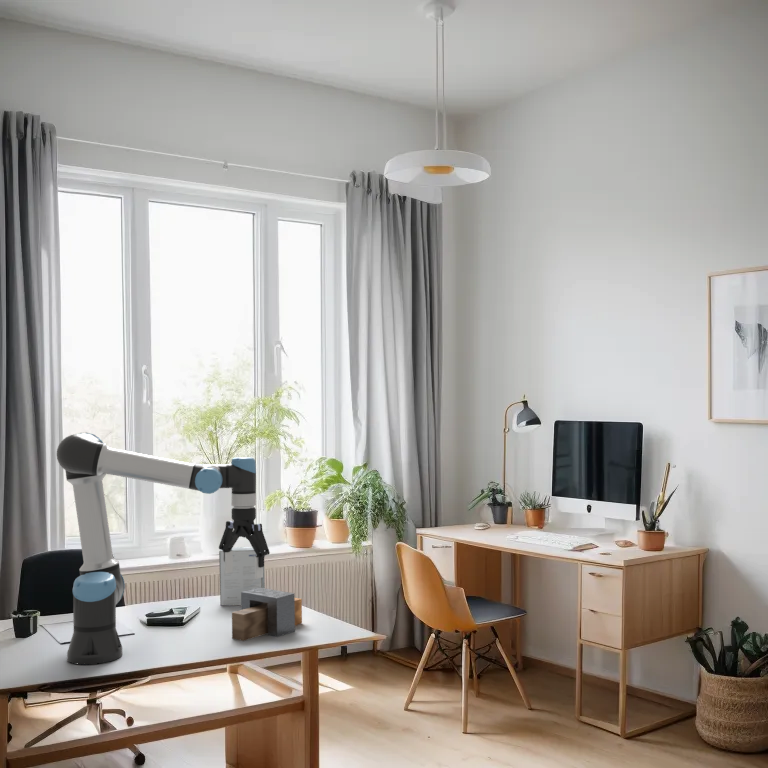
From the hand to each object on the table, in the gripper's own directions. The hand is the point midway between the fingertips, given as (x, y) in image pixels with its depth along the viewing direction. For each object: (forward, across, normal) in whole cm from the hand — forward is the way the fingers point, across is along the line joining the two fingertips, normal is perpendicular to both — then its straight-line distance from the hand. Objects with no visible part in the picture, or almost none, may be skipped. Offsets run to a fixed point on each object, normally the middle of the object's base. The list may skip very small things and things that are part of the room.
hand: (243, 575), depth 271 cm
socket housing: (+19, 0, -10) cm, 22 cm away
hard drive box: (+19, +35, -32) cm, 51 cm away
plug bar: (+19, 0, -10) cm, 22 cm away
